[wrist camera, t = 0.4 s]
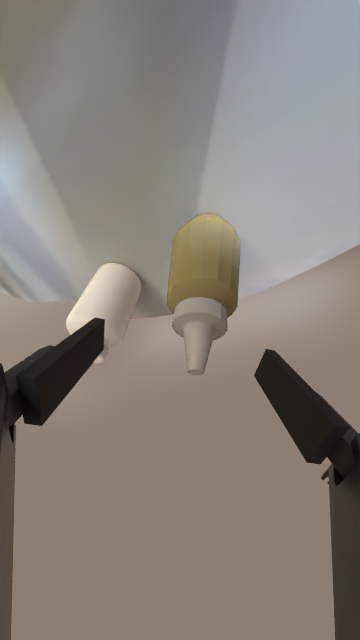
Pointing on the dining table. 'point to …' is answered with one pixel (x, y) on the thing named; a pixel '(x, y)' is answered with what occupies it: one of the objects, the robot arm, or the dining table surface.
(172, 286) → the squeeze bottle
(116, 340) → the pill bottle
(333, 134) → the dining table surface
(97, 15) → the dining table surface
